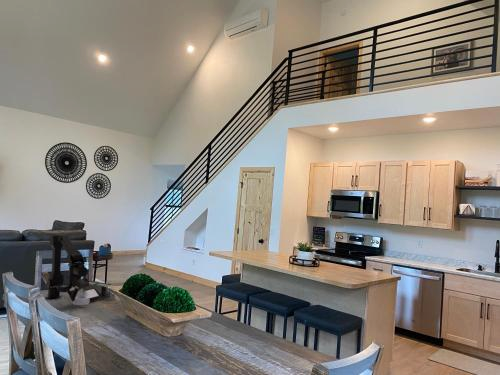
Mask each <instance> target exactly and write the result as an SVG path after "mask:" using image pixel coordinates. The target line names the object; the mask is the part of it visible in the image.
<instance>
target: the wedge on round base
mask: <svg viewBox="0 0 500 375" xmlns="http://www.w3.org/2000/svg"><path fill="white" fill-rule="evenodd" d="M95 296H99V295H98V294H97V293H96V291H95V290H94V289H92V290H88V291H84V292H83V291H82V292H80V293H79V294H77V295H76V297H75V300H74V301H72V303H73V305H74V306H84V305H89V304H90V302H91V299H92V297H95Z"/></svg>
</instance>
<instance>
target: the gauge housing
mask: <svg viewBox="0 0 500 375" xmlns="http://www.w3.org/2000/svg"><path fill="white" fill-rule="evenodd" d="M89 284H95V283H93V282H89ZM96 285H101V286H102V299H101V300H103V301H104V300H105V301H109V302H110V301H114V300H115V298H116V294H115V295H114V294H112V293H111V292H110V291H108V286H113V285H112V284H111V285H106V284H96ZM84 291H86V288H82V292H84Z"/></svg>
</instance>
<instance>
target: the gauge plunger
mask: <svg viewBox="0 0 500 375" xmlns="http://www.w3.org/2000/svg"><path fill="white" fill-rule="evenodd" d="M89 282H92V283H95V284H89V286H86V291H88V290H92V289H94V290H95V291H96V293H97V294H98V295H99V296H95V297H92V298H93V299H97V300H98V299H99V300H103V299H102V286H101V285H96V284H105V285H112V283H106V282H101V281H95V280H89ZM92 298H91V299H92Z"/></svg>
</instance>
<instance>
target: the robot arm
mask: <svg viewBox="0 0 500 375" xmlns="http://www.w3.org/2000/svg"><path fill="white" fill-rule="evenodd" d="M48 241H49V245H50V247H51V248H52V253H51V254H52V255H51V256H52V257H51V258H52V261H51V272H50V274H49V275H48V280H47V281H46V283H45V285H44V287H45V288H44V289H47V296H45V299H49V300H55V299H59V298H62V295H61V294H60V293H63V294H64V293H67V295H68V296H69V298H70V299H71V301H72V302H73V301H74V300H75V297H77V296H78V292H79V291H80V290H83V288H86V286H89V281H90V279H89V278H88V277H87V278H84V277H86V276H87V275H88V271H89V270H88V268H87V267H86V265H85V264H86V263H85V262H86V261H85V258H84V256H83V254H82V253H81V251H80V250H78V249H76V248H75V246H74V244H73V243H72V241H71V239H70V237H69V234H67V233H66V234H63V233H62V234H52V235H51V236H50V237H49V239H48ZM62 248H63V249H64V251H65V252H66V260H67V262H68V264H67V266H68V275H67V276H66V278H67V279H68V282H67V283H66V285H64V281H65V280H64V277H65V275H64V274H63V273H62V271H61V268H62V267H61V265H62V264H61V263H62V260H61V259H62Z"/></svg>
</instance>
